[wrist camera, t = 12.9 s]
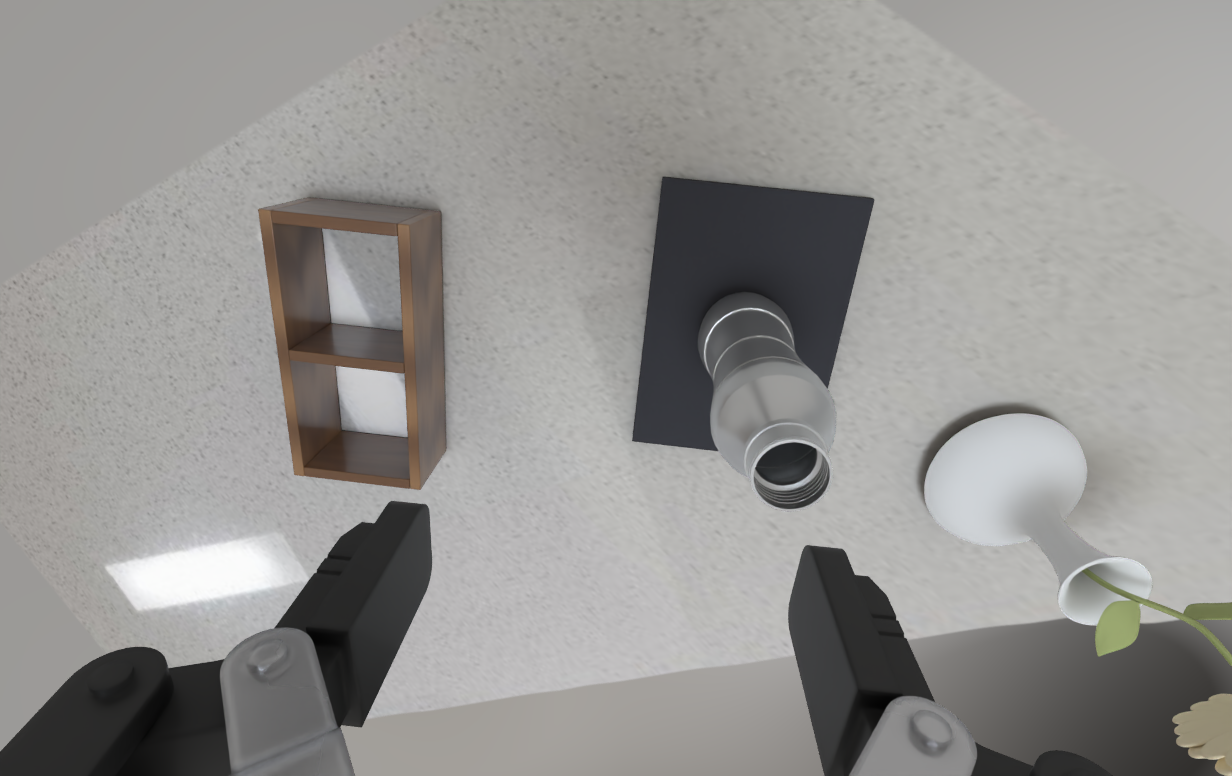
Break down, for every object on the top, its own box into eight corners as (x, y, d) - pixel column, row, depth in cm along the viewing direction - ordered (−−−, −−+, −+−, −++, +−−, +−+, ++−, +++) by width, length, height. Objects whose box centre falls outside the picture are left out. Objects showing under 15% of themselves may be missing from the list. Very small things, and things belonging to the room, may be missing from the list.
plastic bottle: (780, 275, 44) (862, 392, 25) (792, 364, 46) (874, 528, 28) (688, 294, 45) (703, 420, 26) (704, 380, 47) (729, 549, 29)
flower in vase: (908, 531, 52) (1099, 859, 29) (924, 406, 47) (1165, 678, 25) (1077, 528, 51) (1415, 869, 28) (1110, 399, 46) (1545, 680, 23)
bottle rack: (307, 197, 45) (257, 208, 39) (441, 211, 44) (409, 224, 39) (332, 437, 52) (294, 475, 47) (446, 450, 52) (420, 490, 47)
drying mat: (662, 176, 42) (662, 177, 42) (872, 197, 42) (874, 199, 41) (632, 437, 50) (632, 441, 50) (808, 458, 50) (809, 461, 49)
